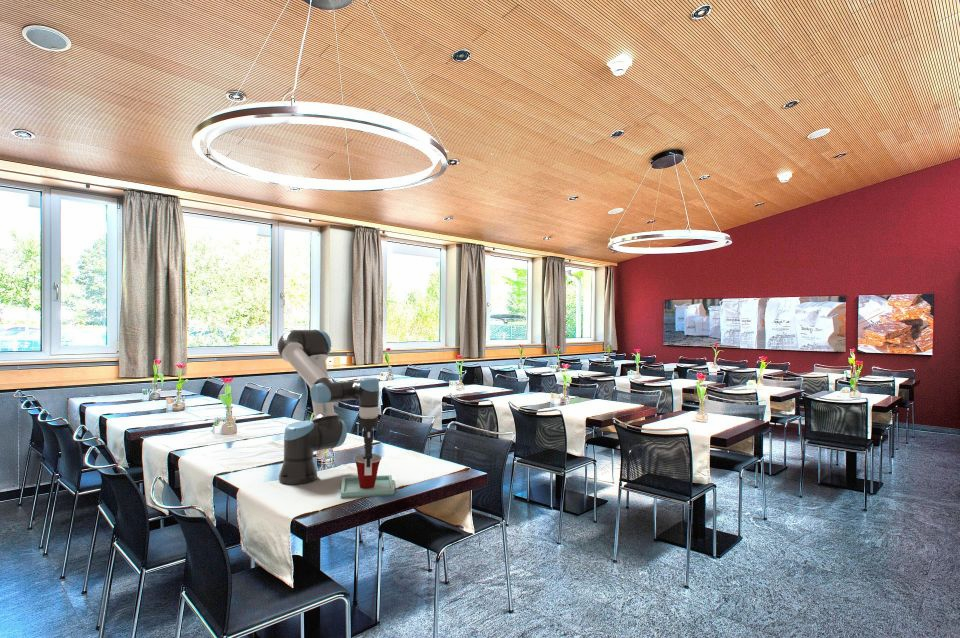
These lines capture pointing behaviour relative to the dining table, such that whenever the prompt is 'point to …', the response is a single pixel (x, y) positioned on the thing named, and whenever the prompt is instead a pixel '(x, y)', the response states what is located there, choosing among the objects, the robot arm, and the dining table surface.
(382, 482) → the tray
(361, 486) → the plastic cup
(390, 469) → the dining table surface
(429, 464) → the dining table surface
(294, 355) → the robot arm
